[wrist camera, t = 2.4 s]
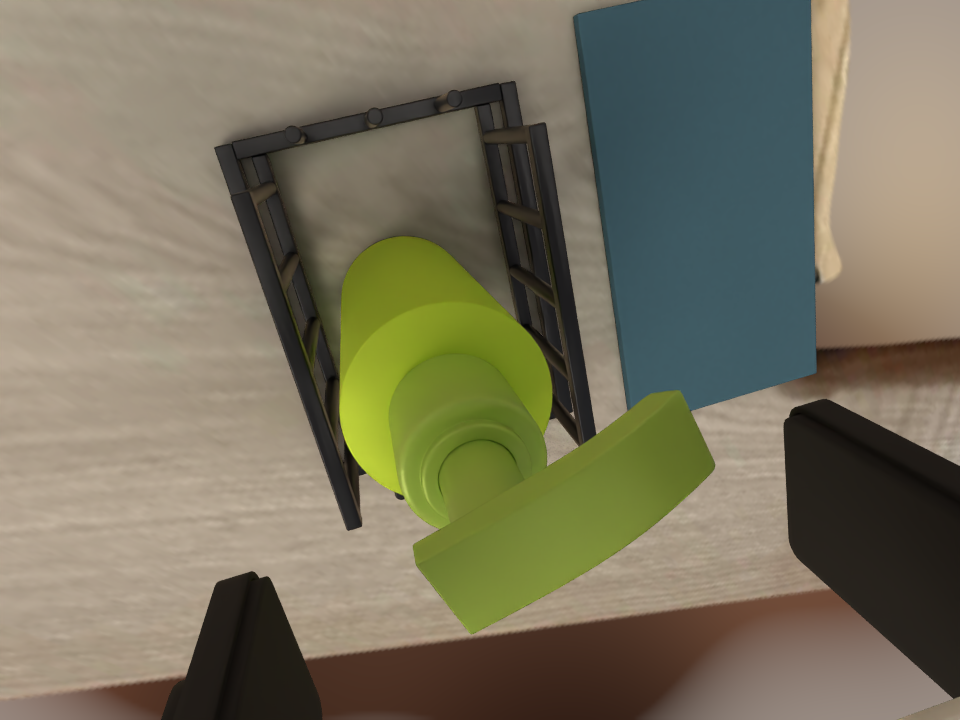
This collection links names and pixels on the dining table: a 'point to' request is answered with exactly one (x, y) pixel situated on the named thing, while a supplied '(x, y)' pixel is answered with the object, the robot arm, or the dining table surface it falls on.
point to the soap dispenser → (492, 437)
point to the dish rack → (533, 221)
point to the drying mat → (705, 190)
